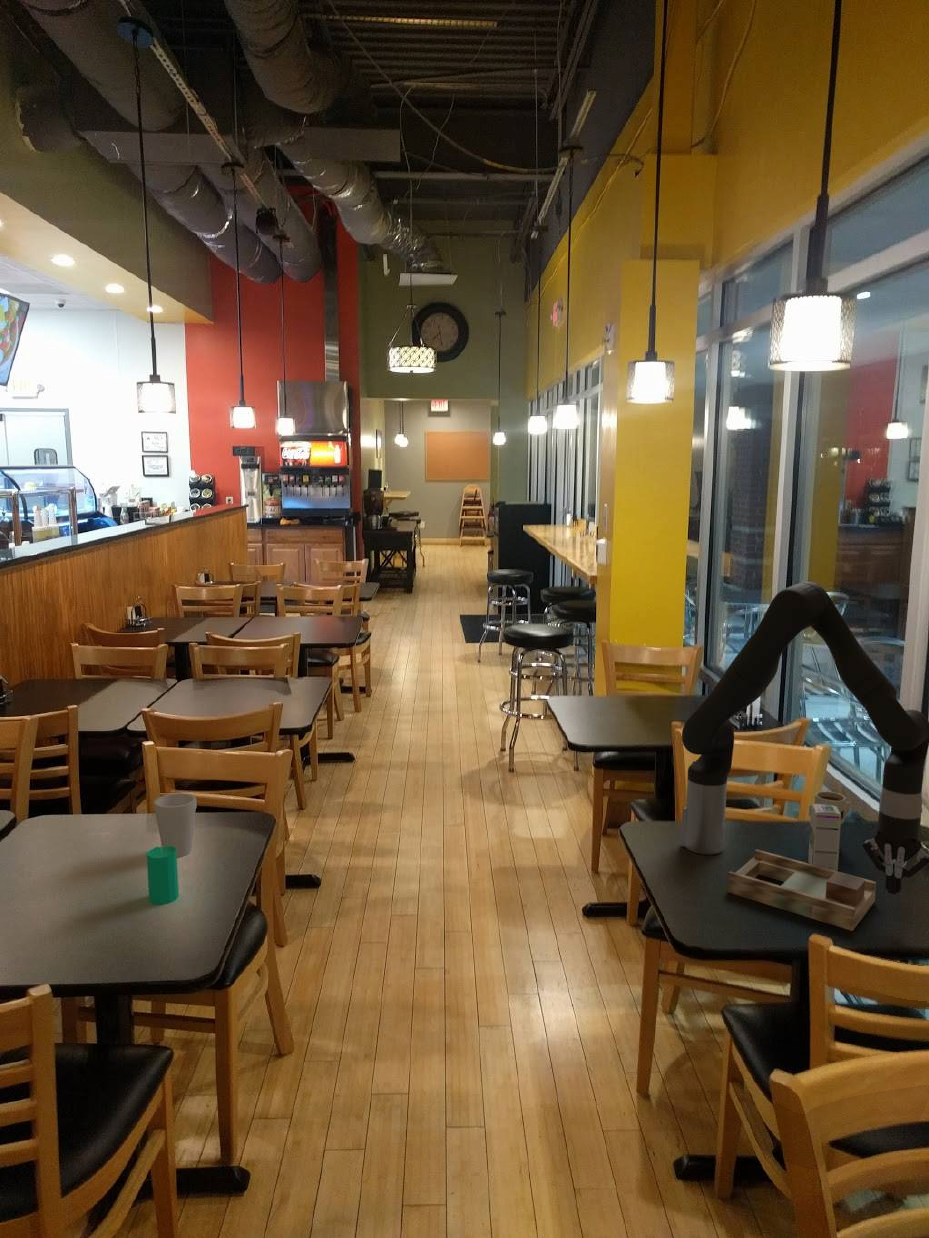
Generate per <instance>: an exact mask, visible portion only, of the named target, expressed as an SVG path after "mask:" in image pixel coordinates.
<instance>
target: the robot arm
mask: <svg viewBox="0 0 929 1238" xmlns="http://www.w3.org/2000/svg"><path fill="white" fill-rule="evenodd" d="M807 628H812V629H813V631H815V633H817V634H818V636H820V638H821V639H822V641H824V643H825V644H826V646H827V648H828V649H829V652H830V654H831V657H832V659H833V662H834V665H835V667H836V671H837V673H838V676H839V677H840V679H841V681H842V683H843V684H844V685H845V687H846V688H847V689H848V691H850V692H851V693H850V694H852V696H854V698H855V699H856V700H857V701H858V702H859V704H860V705H861V706H862V707H863V708H864V710H865V711H866V713H867V715H868V717H869V719H870V721H871V722H872V725H873V726H874V728H875V729H876V731H877V733H878V734H879V736H880V737H881V739H882V740H883V741H884V742H885V743H886V744H887V745H888V746H890V751H889V756H888V757H887V759H886V760H885V762H884V766H883V772H882V773H883V774H882V784H881V785H882V786H881V791H880V796H879V804H878V805H879V807H878V816H877V817H878V818H877V819H878V820H877V822H878V823H877V830H876V831H877V832H876V833H875V835H874V836H873V838H872V839H866V840H865V841H864V842H863V843H862V849H864V851H865V852H866V854H867V856H868V858H870V860H871V862H872V863H873V865H874V866H875V867H876V869H877V870H878V871H881V872H883V873H884V874H885V884H884V885H885V890H887V893H888V894H891V895H895V896H897V894H899V893H900V892H901V891H902V889H903V883H904V878H908V879H911V877H912V876H914V875H916V874H917V873H918V872H920V871H921V870H922V869H923V868H924V867H926V866H927V865H928V864H929V853H926V852H925V850H923V849H922V846H923V845H922V843H921V841H920V835H921V833H920V832H921V821H922V813H923V797H922V795H923V794H922V793H923V792H922V791H923V780H924V766H925V762H926V759H927V754H928V750H929V719H928V717H926V716H925V714H923V712H921V711H919V710H918V709H904V706H902V704H901V703H900V701H898V698H897V694H898V692H897V690H896V688H895V686H894V685H893V683H892V682H891V681H890V680H889V679H888V678H887V676H886V675H885V674H884V673H883V671H882V670H880V668H879V667H878V666H877V665H876V664H875V663H874V661H873V660H872V659H871V657H870V656H869V655H868V654H867V652H866V651H865V650H864V649H863V647H862V645H861V644H860V642H859V641H858V640H857V638H856V637H855V635H854V634H853V632H852V631H851V629H850V627H849V625H848V624H847V622H846V621H845V619H844V618H843V616H842V614H841V612H840V611H839V610H838V608H837V606H836V604H835V603H834V601H833V599H832V598H831V596H830V594H828V592H827V591H826V590H825V588H823V587H822V586H821V585H820V584H818V583H817V582H813V581H803V582H799V583H797V584H792V585H791V586H789V587H785V588H783V589H781V590H780V591H779V592H778V593H776V594H775V596H774V597H773V599H772V600H771V602H770V603H769V605H768V607H767V609H766V610H765V613H764V615H763V617H762V619H761V620H760V622H759V624H758V626H757V627H756V629H755V630H754V632H753V634H752V635H751V636H750V638H749V639H748V640H747V641H746V642H745V644H744V646H743V647H742V648H741V650H740V651H739V653H738V654H737V655H736V656H735V657H734V659H733V661H732V662H731V663H730V664H729V666H728V667H727V669H726V671H725V672H724V674H723V675H722V677H721V678H720V680H719V681H718V682H717V684H715V686H714V688H713V689H712V691H711V692H710V693H709V695H708V696H707V698H706V699H705V700H704V701H703V702H702V703H701V705H699V706H698V708H697V709H696V710H695V711H694V712H693V713H692V714H691V715H690V716H689V718H688V719H686V721H685V723H684V725H683V727H682V732H681V739H682V741H681V742H682V745H683V746H684V748H685V749H686V751H687V752H689V753H690V754H693V755H700V756H699V758H697V759H696V760H695V761H693V763H691V764H690V765H689V767H688V768H687V780H686V781H687V784H686V801H685V802H686V803H685V806H684V807H682V811H681V812H682V813H681V815H682V817H681V833H680V835H681V836H680V837H681V838H680V846H681V847H683V848H686V849H687V850H688V851H691V853H692V852H693V853H695V854H700V855H717V854H719V853H722V852H723V850H724V843H725V842H724V841H725V824H726V807H727V787H728V776H729V773H730V772H731V769H732V764H733V756H734V755H733V754H734V747H735V730H734V726H733V723H732V721H731V720H730V719H731V718H732V717H734V716H735V715H737V714H738V713H740V712H741V711H743V710H744V709H746V708H748V707H749V706H750V705H751V704H752V703H754V702H756V700H757V699H759V698H760V697H761V696H762V694H764V692H765V691H766V689H767V688H768V687H769V685H770V684H771V683H772V682H773V680H774V678H775V676H776V674H777V672H778V669H779V664H780V660H781V656H782V654H783V653H784V651H785V650H786V648H787V647H788V645H790V643H791V642H792V641H793V640H794V639H795V637H797V636H798V635H799V634H800V633H801V632H803V631H804V630H806V629H807ZM878 848H879V850H880V852H881V854H882V855H883V856H884V858H883V856H882V855H881V854H880V852H879V850H878ZM915 855H917V857H916V861H915V863H913V864H912V865H911V866H910V867H908V868H906V865H907V862H908V861H910V860H911V858H913V857H914V856H915Z"/></svg>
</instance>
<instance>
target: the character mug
mask: <svg viewBox="0 0 929 1238" xmlns="http://www.w3.org/2000/svg"><path fill="white" fill-rule="evenodd" d="M812 804H829V805H835V806H837V808H838V810H839V812H840V814H841V824H840V826H841V825H842V824H843V823H844V822H845V820H846V815H849V814H850V809H851V803H850V801H847V799H846V795H844V794H842V793H838V792H834V791H827V790H821V791H817V792H815V793H814V801H813V803H811V804H809V806H808V816H809V818H811V805H812ZM840 848H841V842H840V843H839V849H840Z"/></svg>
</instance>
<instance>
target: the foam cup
mask: <svg viewBox="0 0 929 1238" xmlns="http://www.w3.org/2000/svg"><path fill="white" fill-rule="evenodd" d="M153 808H154V809H153V810H154V811H153V812H154V814H155V816H156V817H155V818H156V823H157V828H158V832H159V838H160V842H161V843H160V845H161V844H162V847H167V846H173V847H175V848H176V852H177V859H178V858H183V857H185V856H188V855H190V854H191V852H192V848H193V839H194V838H193V837H194V830H195V829H194V827H195V821H196V820H195V818H196V809H197V798H196V796H195V795H194V794H191V793H187V792H186V793H185V792H184V793H183V792H175V793H169V794H165V795H162V796H160V797H158V798H155V800H154V801H153Z"/></svg>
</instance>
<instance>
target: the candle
mask: <svg viewBox="0 0 929 1238" xmlns="http://www.w3.org/2000/svg"><path fill="white" fill-rule="evenodd" d="M177 859H178V858H177V852H176V848H175V847H173V846H167V847H162V844H161V843H160V846H155V847H153V848H151V849H150V850H147V851H146V864H147V865H146V867H147V881H148V882H147V883H148V899H149V900H148V901H149V903H151V904H154V905H166V904H171V903H173V902H174V901H176V900H178V898H179V878H178V877H179V875H178V860H177Z"/></svg>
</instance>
